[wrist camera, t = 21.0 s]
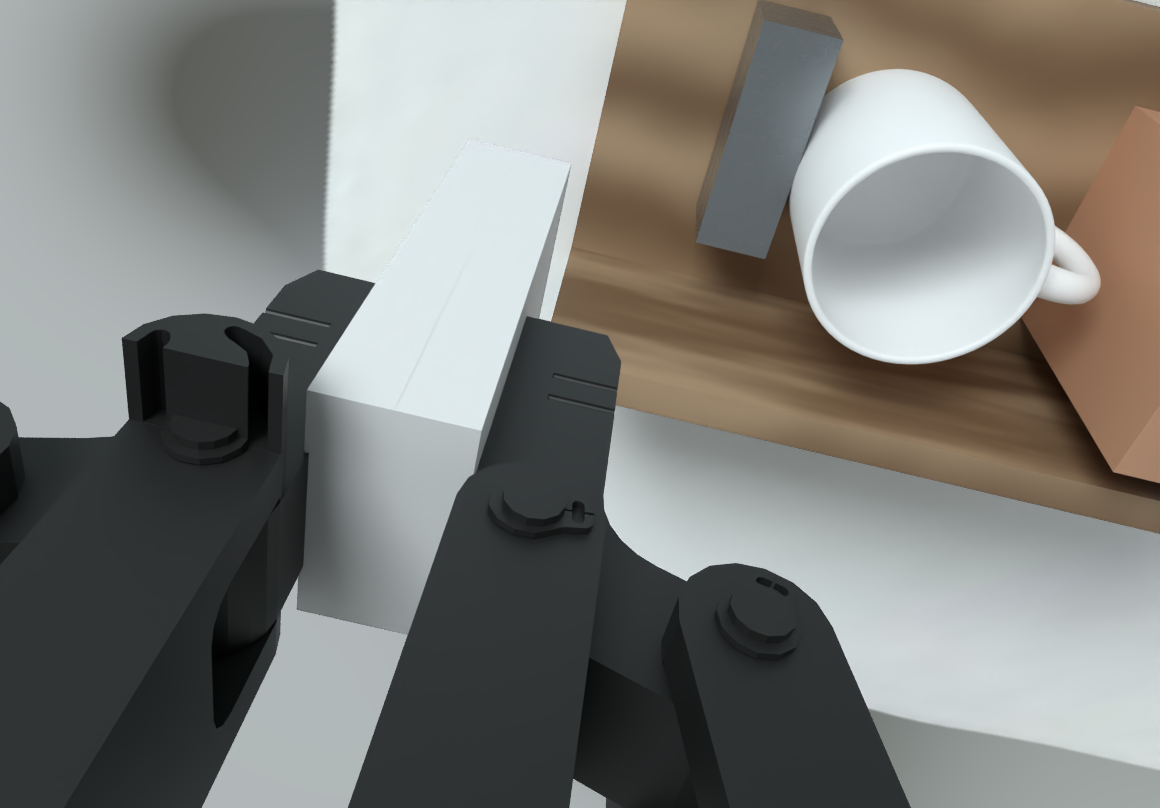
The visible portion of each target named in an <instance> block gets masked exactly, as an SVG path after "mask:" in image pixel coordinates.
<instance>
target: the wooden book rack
mask: <svg viewBox="0 0 1160 808" xmlns="http://www.w3.org/2000/svg"><path fill="white" fill-rule="evenodd" d="M766 1H770V2H774V3H778V4H782V5H786V6H790V7H794V8H798V9H802V10H806V11H810V12H814V13H818V14H822V15H826V16H830V17H831V18H832V20H833V21H834V23H835V25H836V27H837V29H838V31H839V32H840V34H841V36H842V38H843V40H844V41H843V44H842V46H841V49H840V52H839V55H838V57H837V60H836V63H835V66H834V69H833V71H832V74H831V77H830V80H829V83H828V85H827V88H826V91H825V94H824V96H825V95H826V94H827V93H829V92H830V91H831V90H833V89H834V88H836V87H837V86H839V85H841V84H843V83H845V82H846V81H848V80H851V79H853V78H855V77H857V76H860V75H863V74H866V73H870V72H874V71H879V70H887V69H908V70H914V71H919V72H923V73H927V74H929V75H932V76H935V77H937V78H939V79H941V80H943V81H945V82H947V83H948V84H950V85H951V86H953V87H954V88H955V89H957V90H958V91H959V92H960V93H961V94H962V95H963V96H965V97H966V99H967V100H968V101H969V102H970V103H971V104H972V105H973V106H974V107H975V109H976V110H977V111H978V112H979V113H980V115H981V116H982V117H983V118H984V119H985V121H986V122H987V123H988V124H989V125H990V127H991V128H992V129H993V130H994V131H995V133H996V134H997V135H998V136H999V137H1000V139H1001V140H1002V141H1003V142H1004V143H1005V145H1006V146H1007V147H1008V148H1009V149H1010V151H1011V152H1012V153H1013V154H1014V155H1015V157H1016V158H1017V159H1018V160H1019V162H1020V163H1021V164H1022V165H1023V166H1024V168H1025V169H1026V170H1027V171H1028V172H1029V174H1030V175H1031V176H1032V177H1033V178H1034V180H1035V181H1036V182H1037V183H1038V185H1039V186H1040V188H1041V189H1042V191H1043V192H1044V194H1045V196H1046V198H1047V200H1048V202H1049V205H1050V208H1051V210H1052V214H1053V219H1054V225H1055V226H1056V227H1058V228H1059V229H1060V230H1062V231H1063V232H1066V230H1067V228H1068V226H1069V224H1070V223H1071V221H1072V219H1073V217H1074V215H1075V214H1076V212H1077V210H1078V208H1079V206H1080V205H1081V203H1082V201H1083V199H1084V197H1085V196H1086V194H1087V192H1088V190H1089V188H1090V187H1091V185H1092V183H1093V181H1094V179H1095V178H1096V176H1097V174H1098V172H1099V170H1100V168H1101V167H1102V165H1103V163H1104V161H1105V159H1106V158H1107V156H1108V154H1109V152H1110V150H1111V149H1112V147H1113V145H1114V143H1115V141H1116V140H1117V138H1118V136H1119V134H1120V132H1121V131H1122V129H1123V127H1124V125H1125V123H1126V122H1127V120H1128V118H1129V116H1130V114H1131V112H1132V111H1133V109H1134V107H1135V106H1138V107H1142V108H1146V109H1150V110H1154V111H1158V112H1160V7H1157V6H1153V5H1149V4H1145V3H1141V2H1137V1H1133V0H766ZM757 2H758V0H627V2H626V6H625V11H624V15H623V20H622V24H621V29H620V33H619V38H618V42H617V47H616V51H615V56H614V60H613V64H612V69H611V73H610V78H609V82H608V87H607V91H606V96H605V100H604V105H603V109H602V114H601V118H600V123H599V127H598V132H597V136H596V140H595V145H594V149H593V154H592V158H591V163H590V167H589V172H588V176H587V181H586V185H585V190H584V194H583V199H582V203H581V208H580V212H579V217H578V221H577V225H576V230H575V234H574V239H573V243H572V248H571V251H570V255H569V259H568V262H567V266H566V269H565V273H564V277H563V280H562V284H561V288H560V291H559V295H558V298H557V302H556V306H555V309H554V313H553V317H552V320H551V322H554V323H558V324H562V325H567V326H571V327H575V328H579V329H583V330H588V331H592V332H596V333H600V334H605V335H608V337H609V339H610V341H611V343H612V344H613V346H614V348H615V350H616V352H617V354H618V356H619V358H620V360H621V369H620V376H619V384H618V389H617V398H616V405H618V406H622V407H626V408H631V409H635V410H639V411H643V412H648V413H652V414H656V415H660V416H664V417H669V418H673V419H677V420H681V421H686V422H690V423H694V424H698V425H702V426H707V427H711V428H715V429H719V430H724V431H728V432H732V433H736V434H741V435H745V436H749V437H753V438H757V439H762V440H766V441H770V442H774V443H779V444H783V445H787V446H791V447H796V448H800V449H804V450H808V451H812V452H817V453H821V454H825V455H829V456H834V457H838V458H842V459H846V460H851V461H855V462H859V463H863V464H867V465H872V466H876V467H880V468H884V469H889V470H893V471H897V472H901V473H906V474H910V475H914V476H918V477H922V478H927V479H931V480H935V481H939V482H944V483H948V484H952V485H956V486H960V487H965V488H969V489H973V490H977V491H982V492H986V493H990V494H994V495H999V496H1003V497H1007V498H1011V499H1015V500H1020V501H1024V502H1028V503H1032V504H1037V505H1041V506H1045V507H1049V508H1054V509H1058V510H1062V511H1066V512H1070V513H1075V514H1079V515H1083V516H1087V517H1092V518H1096V519H1100V520H1104V521H1109V522H1113V523H1117V524H1121V525H1125V526H1130V527H1134V528H1138V529H1142V530H1147V531H1151V532H1155V533H1159V534H1160V483H1157V482H1153V481H1149V480H1144V479H1140V478H1136V477H1132V476H1128V475H1123V474H1119V473H1115V472H1113V471H1112V469H1111V468H1110V466H1109V464H1108V463H1107V461H1106V459H1105V458H1104V456H1103V454H1102V453H1101V451H1100V449H1099V447H1098V446H1097V444H1096V442H1095V441H1094V439H1093V437H1092V436H1091V434H1090V432H1089V431H1088V429H1087V427H1086V426H1085V424H1084V422H1083V421H1082V419H1081V417H1080V415H1079V414H1078V412H1077V410H1076V409H1075V407H1074V405H1073V404H1072V402H1071V400H1070V399H1069V397H1068V395H1067V394H1066V392H1065V390H1064V389H1063V387H1062V385H1061V384H1060V382H1059V380H1058V378H1057V377H1056V375H1055V373H1054V372H1053V370H1052V368H1051V367H1050V365H1049V363H1048V362H1047V360H1046V358H1045V357H1044V355H1043V353H1042V352H1041V350H1040V348H1039V347H1038V345H1037V343H1036V341H1035V340H1034V338H1033V336H1032V335H1031V333H1030V331H1029V330H1028V328H1027V326H1026V325H1025V323H1024V321H1023V320H1022V318H1021V317H1020V318H1019V319H1018V320H1017V321H1016V322H1015V323H1014V324H1013V325H1012V326H1011V327H1010V328H1009V329H1007V330H1006V331H1005V332H1004V333H1002V334H1001V335H999V336H998V337H997V338H995V339H994V340H992V341H990V342H989V343H987V344H985V345H984V346H982V347H980V348H978V349H976V350H974V351H971V352H969V353H966V354H964V355H961V356H958V357H955V358H952V359H948V360H944V361H940V362H934V363H926V364H895V363H889V362H883V361H879V360H875V359H872V358H869V357H866V356H863V355H861V354H859V353H857V352H855V351H853V350H851V349H849V348H848V347H846V346H844V345H843V344H841V343H840V342H839V341H837V340H836V339H835V338H834V337H833V336H832V335H831V334H829V333H828V331H827V330H826V329H825V328H824V327H823V326H822V325H821V323H820V322H819V320H818V319H817V317H816V316H815V314H814V312H813V310H812V308H811V306H810V303H809V301H808V298H807V294H806V291H805V286H804V281H803V276H802V271H801V266H800V262H799V257H798V252H797V247H796V242H795V237H794V232H793V227H792V222H791V217H790V212H789V208H788V203H787V200H786V203H785V205H784V208H783V211H782V214H781V217H780V219H779V222H778V225H777V228H776V231H775V233H774V236H773V239H772V242H771V245H770V247H769V250H768V253H767V256H766V258H765V259H762V258H758V257H754V256H750V255H746V254H742V253H737V252H733V251H729V250H725V249H721V248H717V247H713V246H709V245H704V244H700V243H696V205H697V202H698V199H699V195H700V192H701V189H702V185H703V182H704V179H705V175H706V172H707V169H708V165H709V162H710V159H711V155H712V152H713V149H714V145H715V142H716V139H717V135H718V132H719V129H720V125H721V122H722V119H723V115H724V112H725V109H726V105H727V102H728V99H729V95H730V92H731V89H732V85H733V82H734V79H735V75H736V72H737V69H738V65H739V62H740V59H741V55H742V52H743V49H744V45H745V42H746V39H747V35H748V32H749V29H750V25H751V22H752V19H753V15H754V12H755V9H756V5H757Z"/></svg>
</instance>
